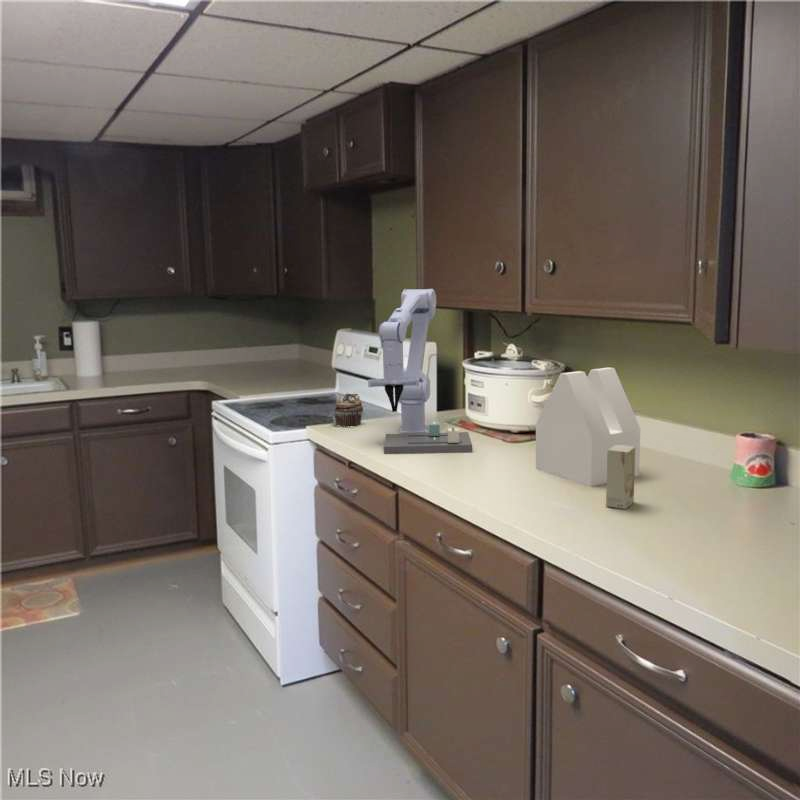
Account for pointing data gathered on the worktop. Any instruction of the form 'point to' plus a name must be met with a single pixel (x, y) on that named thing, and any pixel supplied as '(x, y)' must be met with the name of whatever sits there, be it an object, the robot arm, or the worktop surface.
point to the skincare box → (620, 476)
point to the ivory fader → (453, 435)
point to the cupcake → (348, 410)
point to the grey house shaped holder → (585, 426)
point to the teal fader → (434, 429)
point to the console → (425, 443)
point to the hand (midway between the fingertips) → (394, 411)
